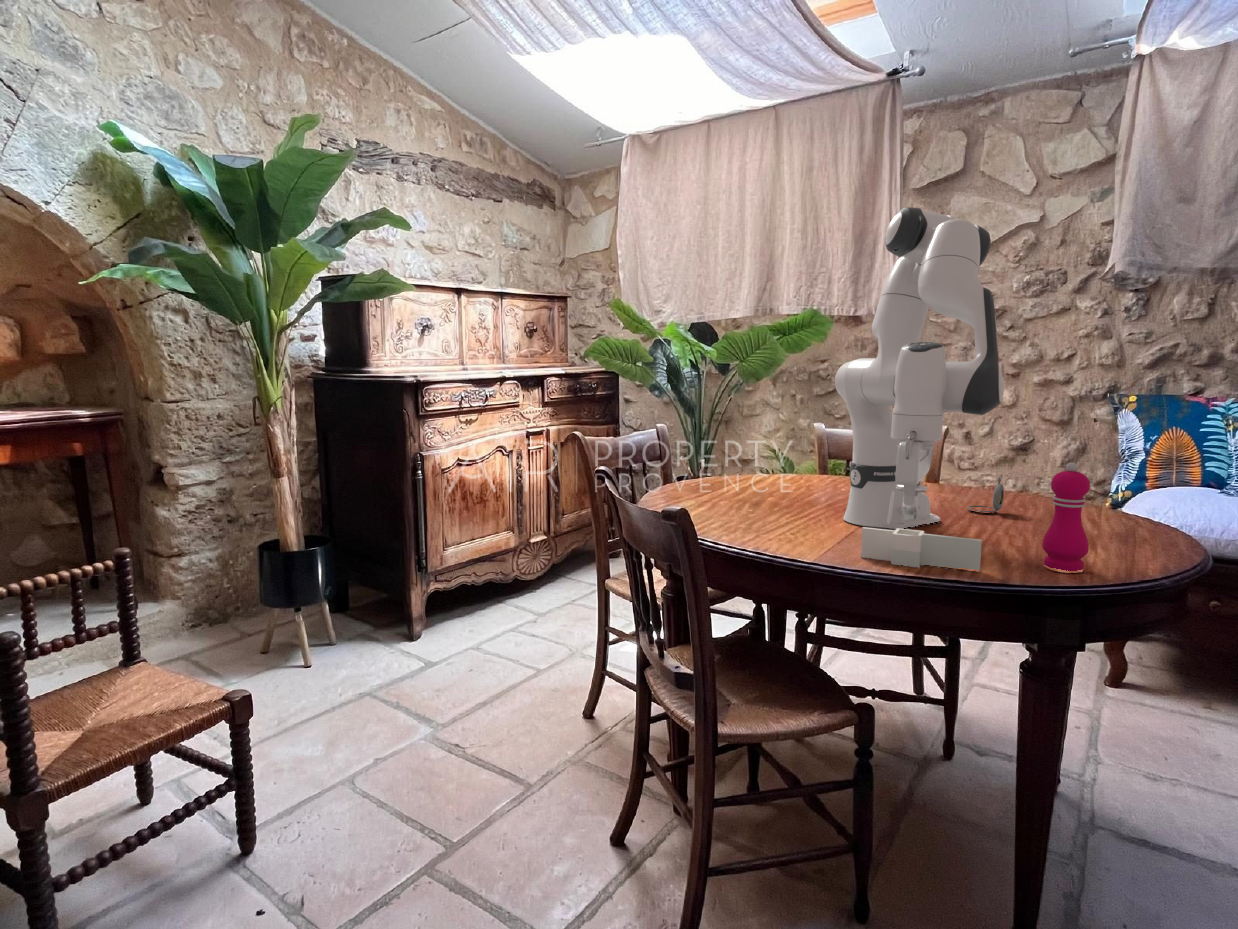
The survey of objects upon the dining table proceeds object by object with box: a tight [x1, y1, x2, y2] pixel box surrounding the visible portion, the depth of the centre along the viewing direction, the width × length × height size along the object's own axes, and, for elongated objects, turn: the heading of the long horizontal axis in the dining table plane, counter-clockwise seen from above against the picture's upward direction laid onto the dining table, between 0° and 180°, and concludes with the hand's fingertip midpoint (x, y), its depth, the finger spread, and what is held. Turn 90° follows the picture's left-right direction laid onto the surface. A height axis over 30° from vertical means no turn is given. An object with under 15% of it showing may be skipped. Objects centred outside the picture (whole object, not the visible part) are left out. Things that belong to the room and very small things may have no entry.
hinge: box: [860, 526, 983, 571], centre depth 133 cm, size 21×5×6 cm, turn 59°
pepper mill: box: [1041, 462, 1091, 571], centre depth 128 cm, size 7×7×20 cm
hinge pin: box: [896, 484, 928, 520], centre depth 132 cm, size 5×5×6 cm
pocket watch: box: [967, 474, 1005, 512], centre depth 175 cm, size 8×8×10 cm
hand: (911, 502), depth 132 cm, fingers closed on hinge pin, 3 cm apart
